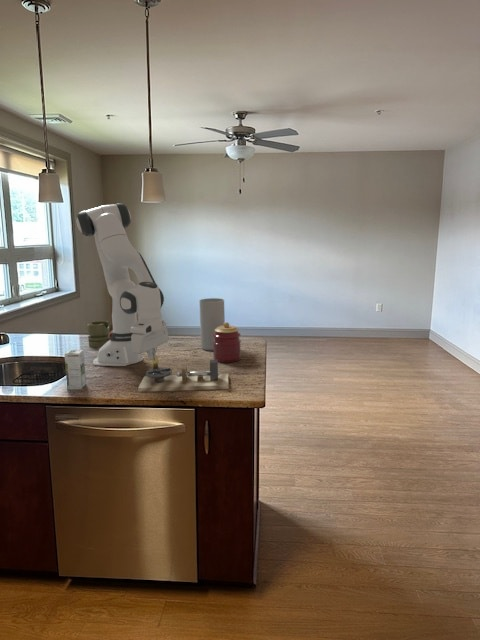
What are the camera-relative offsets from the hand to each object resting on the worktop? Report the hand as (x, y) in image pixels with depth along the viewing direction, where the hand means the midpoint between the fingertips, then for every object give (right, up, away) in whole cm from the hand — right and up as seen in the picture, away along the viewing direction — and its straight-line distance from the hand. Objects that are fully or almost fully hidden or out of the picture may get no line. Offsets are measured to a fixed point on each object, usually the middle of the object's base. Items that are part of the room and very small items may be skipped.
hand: (152, 358), depth 168 cm
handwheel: (+3, -6, 0) cm, 6 cm away
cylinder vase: (+21, +1, +54) cm, 58 cm away
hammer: (+18, -8, +1) cm, 20 cm away
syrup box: (-29, -11, -1) cm, 31 cm away
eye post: (+13, -9, +1) cm, 15 cm away
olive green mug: (-42, +2, +66) cm, 78 cm away
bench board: (+13, -10, +1) cm, 16 cm away
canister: (+28, -3, +34) cm, 44 cm away
